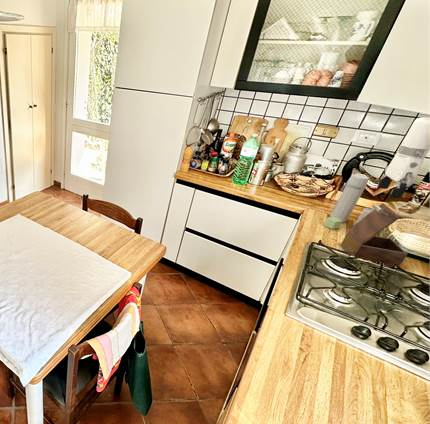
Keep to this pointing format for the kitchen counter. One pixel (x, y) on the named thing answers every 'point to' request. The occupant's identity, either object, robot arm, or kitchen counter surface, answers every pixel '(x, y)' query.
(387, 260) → the keepsake box
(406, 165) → the robot arm
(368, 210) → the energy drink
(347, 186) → the water bottle
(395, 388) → the kitchen counter surface
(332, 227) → the block
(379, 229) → the box lid
